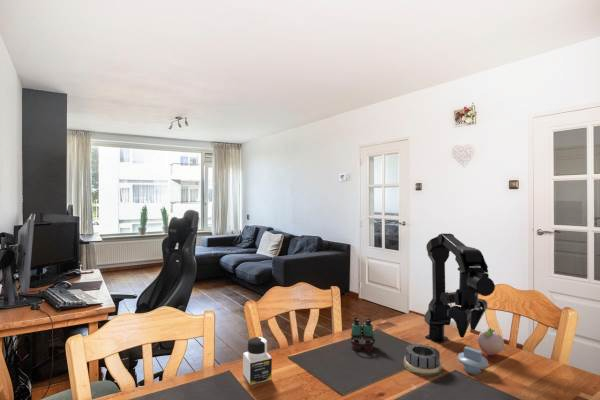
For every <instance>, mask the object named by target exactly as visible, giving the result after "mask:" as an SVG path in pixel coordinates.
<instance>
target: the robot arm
mask: <svg viewBox="0 0 600 400" xmlns="http://www.w3.org/2000/svg"><path fill="white" fill-rule="evenodd" d="M426 251H427V257H428V258H429V259H430V262H431V267H432V269H431V270H432V271H431V272H432V274H431V276H432V278H431V279H432V283H431V284H432V298H431V300H430V302H429V304H428V307H427V308H428V309H427V310H426V312H425V314H424V316H423V318H424V322H425V323H426V324H427V325H428V334H427V335H425V338H426V339H428V340H430V341H433V342H437V343H443V342H444V341H446V340H448V336H445V326H450V325H451V320H453V321H454V322H455V325H456V328H457V331H458V335H459V338H462V339H463V338H464V337H465V335H466V333H467V331H468V329H469V326H470V330H471V331H475V330H476V328H477V326H478V325H479V323H480V321H481V319H482V317H483V316H484V313H485V312H487V311H486V310H487V309H488V301H486V299H484V298H479V295H481V296H482V297H488V296H491V294H493V293H494V291H495V289H496V285H495V283H494V280H492V279H491V278H490V277H489V270H488V268H489V267H488V264H487V262H486V260H485V258H484V255H483V253H482V251H481V250H479V249H477V248H475V247H470V246H467V245H466V244H464V243H463V242H462V241H460V240H459V239H458V238H457V237H455V236H454V234H453V233H443V232H442V233H439V234H438V235H437V236H435V237H434V238H431V239H429V241H428V242H427V243H426ZM450 252H451V253H452V254H453V256H455V262H456V263H457V265H458V268H457V271H459V286H458V288H457V289H456V290H455V291H452V292H448V291H446V262H447V260H448V259H449V257H450ZM449 304H454V305H453V306H450V305H449Z"/></svg>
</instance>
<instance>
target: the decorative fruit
mask: <svg viewBox="0 0 600 400" xmlns="http://www.w3.org/2000/svg"><path fill="white" fill-rule="evenodd" d="M477 344H478V346H479V349H480V351H482V353H485V354H486V355H487V356H495V355H498V354H499V353H501V352H502V351H503V349H504V347H505V342H504V339H503V337H502V336H501V334H499V333H498V332H496V331H495V330H494V329H492V328H491V327H489V328H487V329H485V330H482V331H480V333H479V334H478V340H477Z"/></svg>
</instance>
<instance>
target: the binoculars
mask: <svg viewBox="0 0 600 400" xmlns="http://www.w3.org/2000/svg"><path fill="white" fill-rule="evenodd" d="M371 322H372V318H370V317H369V318H366V319H365V322H360V319H359V318H358V317H353V323H352V325H351V332H350V337H351V338H350V344H351V349H352V350H353V351H356V352H359V351H360V350H361V348H363V349H364V351H366V352H371V351H373V349H374V347H373V346H374V344H375V342H376V339H375V337H374V327H373V324H372V323H371ZM362 339H363V341H364V343H360V341H361V340H362Z"/></svg>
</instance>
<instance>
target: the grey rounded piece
mask: <svg viewBox="0 0 600 400" xmlns="http://www.w3.org/2000/svg"><path fill="white" fill-rule="evenodd" d="M457 360H458V362H459V363H461V364H462V365H463V370H464V371H465V372H466V373H469V374H471V375H480V374H481V373H482V369H485V368H487V367H488V365H489V360H488V359H487V357H485V356H483V351H482V350H479V349H476V348H473V347H470V346H467V345H466V346H465V347H463V352H459V353H458V354H457Z"/></svg>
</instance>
